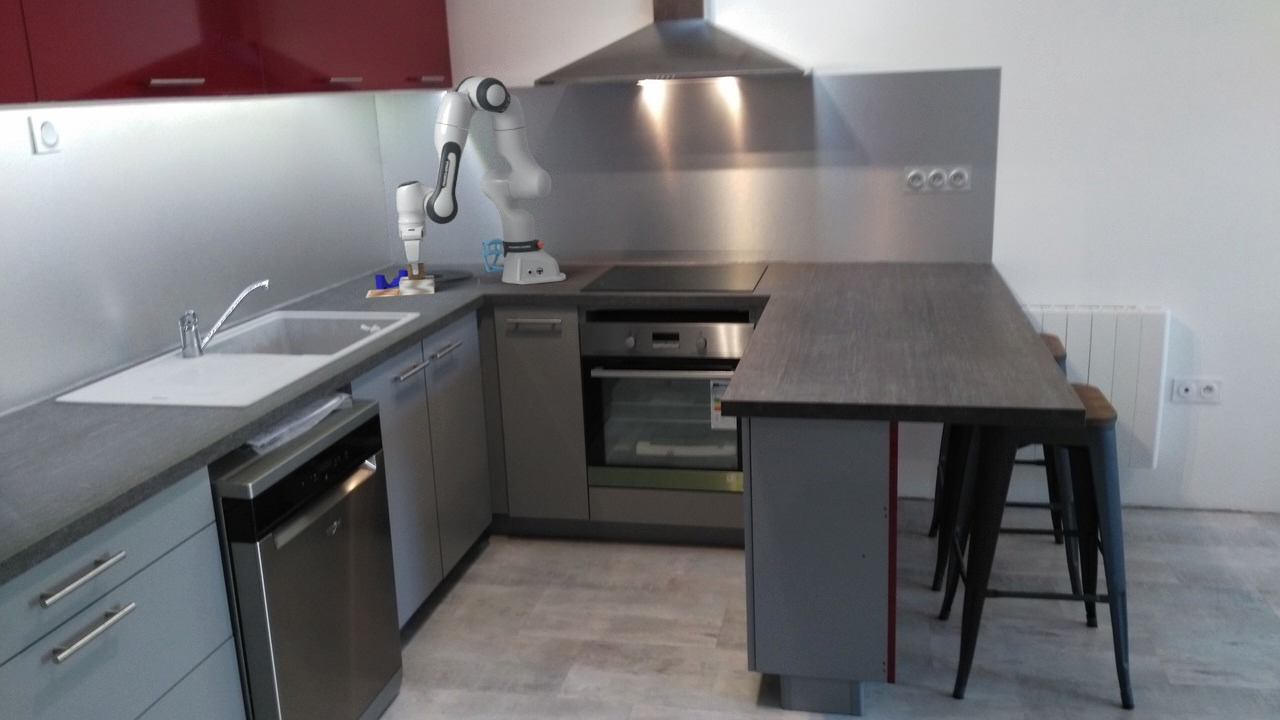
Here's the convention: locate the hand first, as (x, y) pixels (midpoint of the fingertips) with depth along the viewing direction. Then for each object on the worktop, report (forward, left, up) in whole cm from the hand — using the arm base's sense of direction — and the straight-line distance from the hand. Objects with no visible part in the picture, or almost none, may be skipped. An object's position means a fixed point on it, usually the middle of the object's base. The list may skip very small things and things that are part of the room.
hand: (416, 272), depth 354 cm
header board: (+6, 0, -7) cm, 9 cm away
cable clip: (+9, -12, -8) cm, 17 cm away
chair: (-26, -40, -7) cm, 48 cm away
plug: (0, 0, -6) cm, 6 cm away
